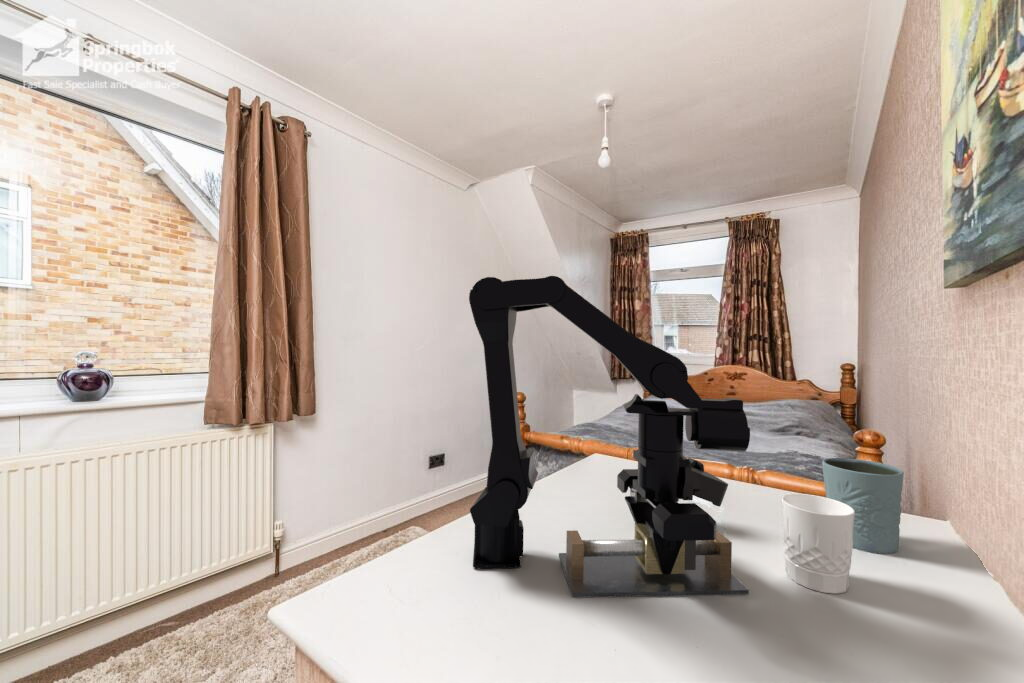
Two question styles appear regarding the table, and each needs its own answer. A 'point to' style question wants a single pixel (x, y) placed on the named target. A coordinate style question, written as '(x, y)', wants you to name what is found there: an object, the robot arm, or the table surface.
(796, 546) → the white cup
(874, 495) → the drinking glass
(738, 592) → the pipe rig
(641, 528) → the sleeve
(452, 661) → the table surface
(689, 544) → the dark grey square collar
